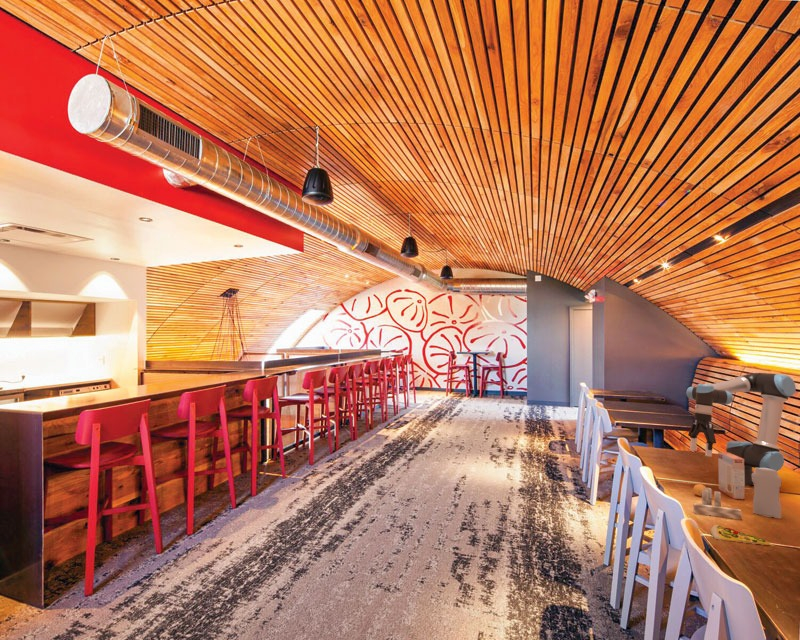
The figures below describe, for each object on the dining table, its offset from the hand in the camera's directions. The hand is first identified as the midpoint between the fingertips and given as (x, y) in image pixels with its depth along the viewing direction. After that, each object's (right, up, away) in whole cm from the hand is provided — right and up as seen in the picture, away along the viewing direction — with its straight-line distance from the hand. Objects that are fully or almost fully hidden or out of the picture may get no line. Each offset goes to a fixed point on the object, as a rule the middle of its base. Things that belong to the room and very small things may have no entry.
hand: (700, 453), depth 229 cm
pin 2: (-8, -20, -23) cm, 31 cm away
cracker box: (+15, -22, -1) cm, 27 cm away
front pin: (-8, -21, -18) cm, 28 cm away
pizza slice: (-20, -20, -53) cm, 60 cm away
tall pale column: (+11, -20, -29) cm, 37 cm away
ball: (-3, -18, -4) cm, 19 cm away
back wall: (-13, -20, -30) cm, 38 cm away
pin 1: (-12, -20, -21) cm, 32 cm away
